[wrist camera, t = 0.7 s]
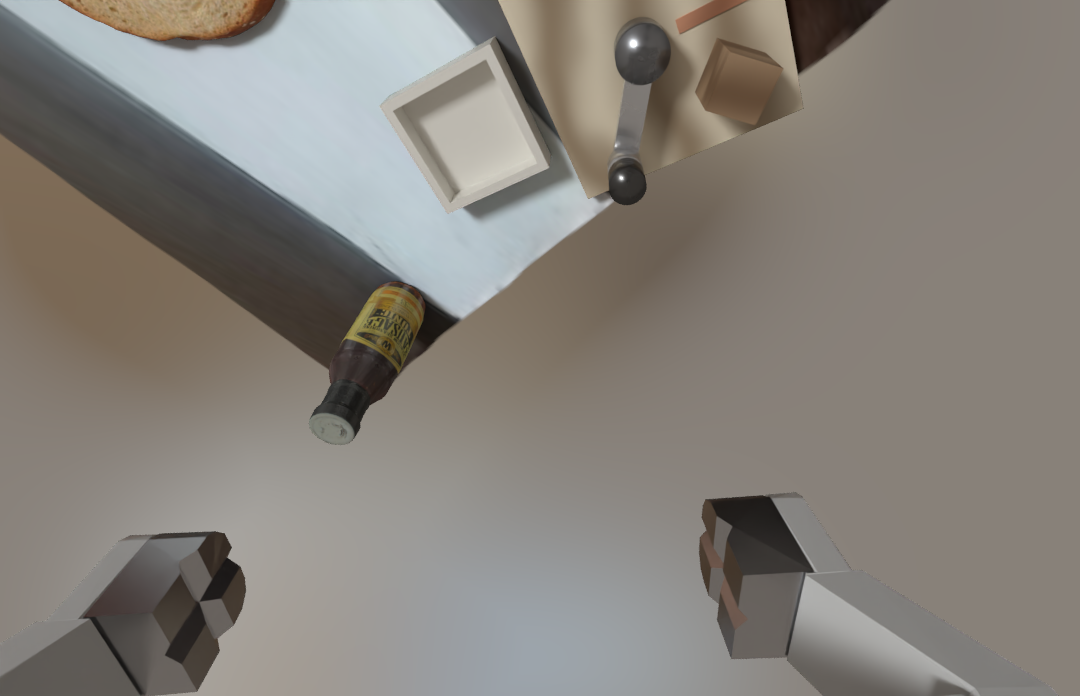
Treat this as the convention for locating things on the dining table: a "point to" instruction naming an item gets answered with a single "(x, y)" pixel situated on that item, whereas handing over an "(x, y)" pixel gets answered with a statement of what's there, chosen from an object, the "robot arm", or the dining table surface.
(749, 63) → the block
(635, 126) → the crank
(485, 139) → the tray
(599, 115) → the crank board
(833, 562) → the robot arm
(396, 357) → the sauce bottle
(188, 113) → the dining table surface
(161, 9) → the bread slice
